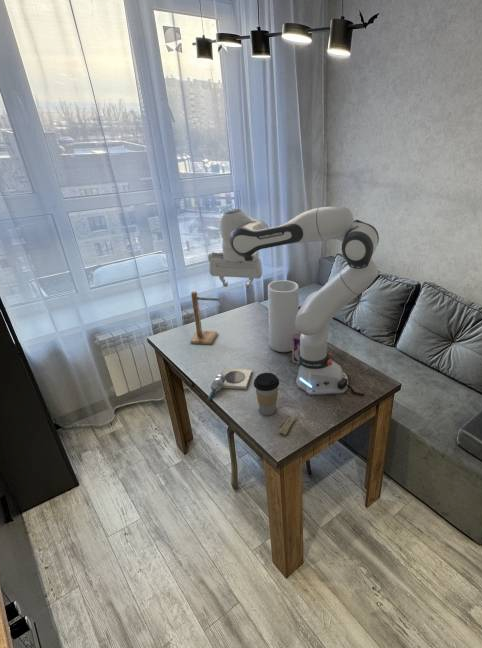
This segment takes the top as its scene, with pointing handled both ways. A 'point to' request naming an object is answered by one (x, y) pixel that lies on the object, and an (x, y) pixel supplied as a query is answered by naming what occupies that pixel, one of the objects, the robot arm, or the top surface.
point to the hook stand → (200, 335)
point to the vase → (282, 314)
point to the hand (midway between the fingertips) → (237, 286)
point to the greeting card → (295, 348)
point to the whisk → (216, 385)
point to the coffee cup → (267, 392)
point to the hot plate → (236, 378)
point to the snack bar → (287, 425)
